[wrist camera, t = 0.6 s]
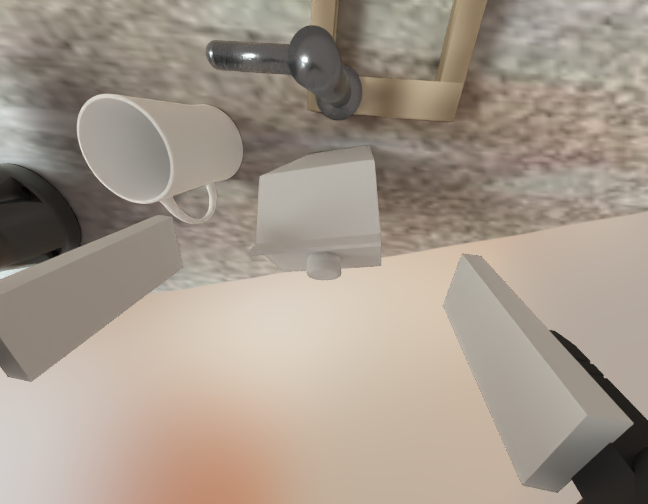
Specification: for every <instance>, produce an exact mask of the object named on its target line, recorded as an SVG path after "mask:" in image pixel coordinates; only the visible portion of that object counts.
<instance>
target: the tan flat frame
mask: <svg viewBox="0 0 648 504" xmlns="http://www.w3.org/2000/svg"><path fill="white" fill-rule="evenodd" d="M486 3H487V0H454V2H453V6H452V11H451V15H450V19H449V24H448V28H447V32H446V37H445V41H444V45H443V50H442V54H441V58H440V62H439V67H438V71H437V75H436V80H435V81H423V80H407V79H392V78H377V77H361V76H359V78H360V80H361V84H362V99H361V103H360V105H359V107H358V109H357V110H356V112H355V113H354V114H353V115H363V116H376V117H388V118H401V119H413V120H426V121H438V122H453V121H454V119H455V115H456V111H457V108H458V104H459V101H460V97H461V93H462V90H463V86H464V83H465V79H466V75H467V72H468V68H469V65H470V61H471V57H472V54H473V50H474V46H475V43H476V39H477V36H478V32H479V28H480V25H481V21H482V18H483V14H484V10H485V7H486ZM338 9H339V0H312V8H311V25H315V26H320V27H322V28H324V29H325V30H327V31H328V32H329V33H330V34H331V36H332V37H333V39H334V41H335V43H336V35H337V22H338ZM307 110H310V111H313V112H321V111H320V109H319V107H318V105H317V103H316V98H315V94H313V93H312V92H310V91H309V90H308V108H307Z"/></svg>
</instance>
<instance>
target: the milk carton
mask: <svg viewBox="0 0 648 504" xmlns="http://www.w3.org/2000/svg"><path fill="white" fill-rule="evenodd" d="M381 245H382V240H381V232H380V220H379V208H378V196H377V184H376V172H375V160H374V158H373V154H372V151H371V148H370V145H364V146H357V147H351V148H345V149H338V150H332V151H325V152H319V153H313V154H308V155H306V156H304V157H302V158H299V159H297V160H295V161H293V162H290V163H288V164H286V165H284V166H281V167H279V168H277V169H275V170H272V171H270V172H268V173H266V174H263V175H261V176H260V177H259V193H258V211H257V229H256V245H255V246H254V247H253V248H252V249H251V250H250V251H249V252H248V253H249V255H250V256H257V255H265V256H266V257H268V258H269V259H270V260H271V261H272V262H273V263H274V264H275V265H276V266H278V267H279V268H280V269H281V270H282V271H284V272H289V271H307V275H308V276H309V277H310V278H313V279H317V280H331V279H336V278H338V277H340V276H341V268H358V267H373V266H381Z"/></svg>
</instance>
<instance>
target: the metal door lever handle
mask: <svg viewBox="0 0 648 504" xmlns="http://www.w3.org/2000/svg"><path fill="white" fill-rule="evenodd" d="M206 56H207V59H208V61H209V63H210V64H211V65H212V66H213V67H214V68H216V69H218V70H226V71H241V72H256V73H271V74H286V75H292V76H293V77H294V79H295V80H296V81H297V82H298V83H299V84H300V85H302V86H303V87H305V88H306V89H307V90H309V91H310V92H312V93H313V94H315V98H316V103H317V105H318V107H319V109H320V111H321V112H322V113H323V114H324V115H325V116H326V117H328V118H330V119H333V120H344V119H347V118H349V117H350V116H351V115H353V114H354V113H355V112H356V110H357V109H358V107H359V105H360V103H361V99H362V84H361V80H360V78H359V76H358V74H357V73H356V72H355V71H354V70H353V69H352V68H350V67H349V66H346V65H343V64H342V61H341V58H340V55H339V52H338V49H337V46H336V43H335V41H334V39H333V37H332V36H331V34H330V33H329V32H328V31H327V30H325V29H324V28H322V27H320V26H315V25H310V26H306V27H304V28H302V29H301V30H299V31H298V32H297V33H296V34H295V36H294V37H293V39H292V41H291V43H290V44H274V43H256V42H237V41H219V40H214V41H211V42H210V43H209V44H208V45H207V47H206Z"/></svg>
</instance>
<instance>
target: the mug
mask: <svg viewBox="0 0 648 504" xmlns="http://www.w3.org/2000/svg"><path fill="white" fill-rule="evenodd" d="M77 137H78V142H79V146H80V149H81V152H82V154H83V156H84V159H85V161H86V162H87V164H88V166H89V168H90V169H91V171H92V172H93V173H94V175H95V176H96V177H97V178H98V179H99V181H100V182H101V183H102V184H103V185H104V186H105V187H107V188H108V189H109V190H110V191H112V192H113V193H114V194H116V195H118V196H119V197H121V198H123V199H125V200H128V201H131V202H134V203H139V204H149V203H154V202H157V201H159V202H161V203H162V204H163V205H164V206H165V207H166V209H167V210H168V211H169V212H170V213H171V214H173V215H174V216H175V217H176V218H178V219H180V220H181V221H183V222H186V223H190V224H201V223H204V222H206V221H208V220H209V219H210V218H211V217H212V216H213V214H214V212H215V210H216V205H217V193H216V188H215V182H219V181H224V180H227V179H229V178H230V177H232V176H233V175H234V174H235V173H236V172H237V171H238V169H239V167H240V165H241V162H242V158H243V144H242V140H241V136H240V134H239V131H238V129H237V127H236V126H235V124H234V123H233V121H232V120H231V119H230V118H229V117H228V116H227V115H226V114H225V113H224V112H223V111H221V110H220V109H218V108H216V107H214V106H211V105H207V104H196V105H189V104H182V103H175V102H167V101H160V100H153V99H146V98H139V97H132V96H124V95H117V94H100V95H96V96H94V97H92V98H90V99H89V100H88V101H87V102H86V103H85V104H84V105H83V106H82V108H81V110H80V112H79V115H78V120H77ZM203 185H205V186H206V188H207V190H208V194H209V209H208V212H207V214H206V215H205V216H204V217H203V218H201V219H195V218H192V217H190V216H188V215H187V214H185V213H184V212H183V211H182V210H181V209H180V208H179V207H178V205H177V204H176V202H175V201H174V198H173V196H174V195H177V194H180V193H183V192H186V191H189V190H192V189H194V188H197V187H200V186H203Z"/></svg>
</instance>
